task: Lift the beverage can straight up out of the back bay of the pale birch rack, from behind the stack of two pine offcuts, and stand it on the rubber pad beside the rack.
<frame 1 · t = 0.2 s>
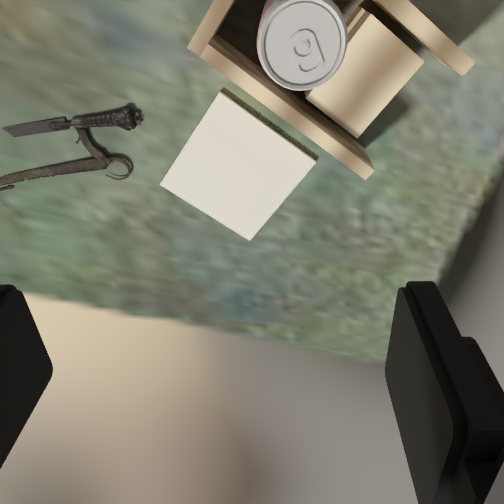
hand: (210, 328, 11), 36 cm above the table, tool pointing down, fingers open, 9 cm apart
beverage can: (294, 18, 39), resting in rack
pad: (236, 171, 47), on the table
rack: (328, 47, 40), on the table
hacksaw: (49, 165, 48), on the table
offcut upper: (358, 74, 39), point 2 cm above the table, touching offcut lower
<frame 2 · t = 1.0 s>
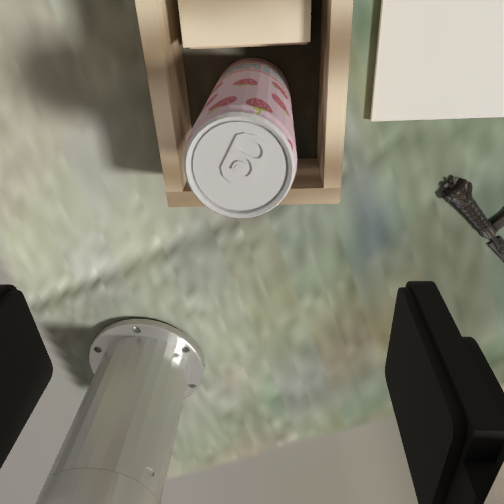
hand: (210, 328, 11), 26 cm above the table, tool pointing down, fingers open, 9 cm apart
beverage can: (253, 96, 34), resting in rack
pad: (466, 29, 30), on the table
rack: (250, 39, 31), on the table
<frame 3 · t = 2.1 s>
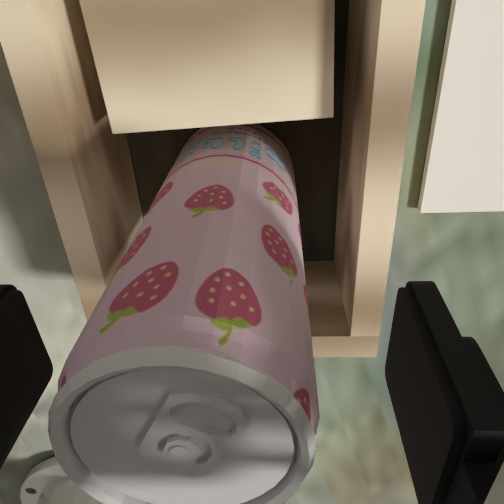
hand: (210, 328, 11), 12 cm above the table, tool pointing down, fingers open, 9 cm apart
beverage can: (236, 174, 22), resting in rack
rack: (229, 90, 19), on the table
offcut upper: (217, 26, 16), point 2 cm above the table, touching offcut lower
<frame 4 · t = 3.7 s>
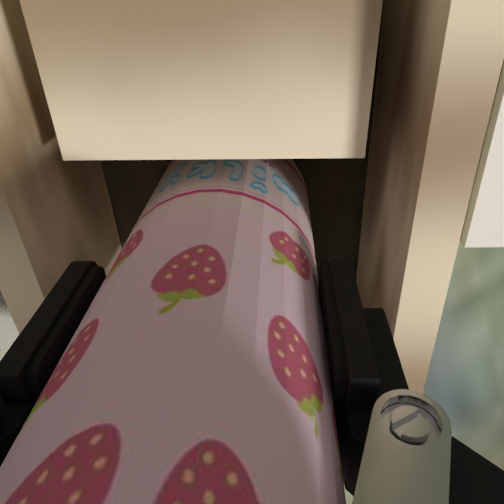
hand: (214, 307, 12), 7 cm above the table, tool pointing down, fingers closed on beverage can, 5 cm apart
beverage can: (235, 198, 17), resting in rack, touching gripper
rack: (227, 95, 15), on the table
offcut upper: (214, 21, 12), point 2 cm above the table, touching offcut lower
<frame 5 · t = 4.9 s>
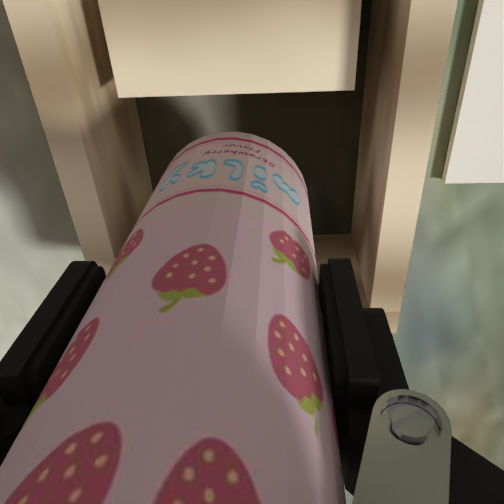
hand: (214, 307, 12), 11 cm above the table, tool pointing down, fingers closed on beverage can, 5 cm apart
beverage can: (235, 197, 17), point 4 cm above the table, touching gripper
rack: (244, 49, 18), on the table
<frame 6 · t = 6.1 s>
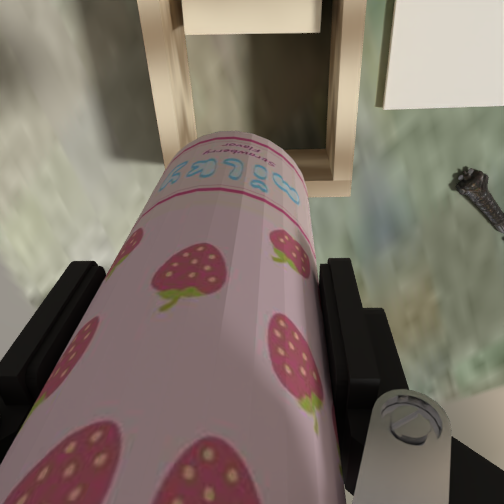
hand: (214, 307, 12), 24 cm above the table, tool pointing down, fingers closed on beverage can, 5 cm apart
beverage can: (235, 197, 17), point 18 cm above the table, touching gripper
pad: (487, 10, 28), on the table
rack: (256, 21, 30), on the table
when the fingers open (8 cm above the table, at t = 11.9 s): beverage can drops 1 cm, resting on pad.
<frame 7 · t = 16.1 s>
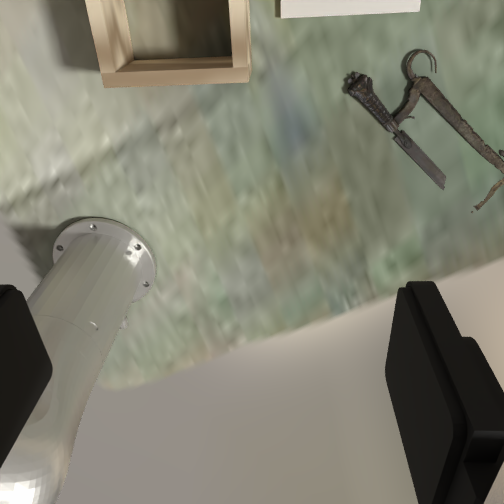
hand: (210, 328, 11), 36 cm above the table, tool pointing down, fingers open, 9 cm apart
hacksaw: (457, 129, 44), on the table
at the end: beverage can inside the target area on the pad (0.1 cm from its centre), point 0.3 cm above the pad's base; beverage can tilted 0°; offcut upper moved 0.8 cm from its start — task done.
